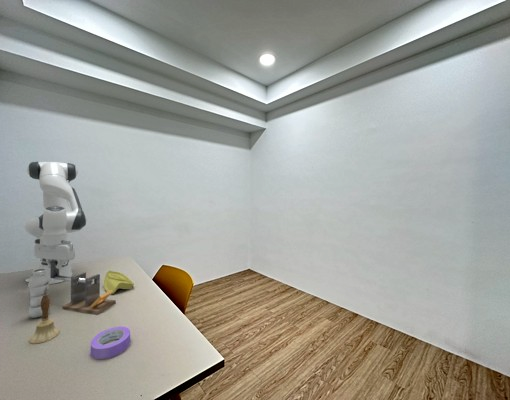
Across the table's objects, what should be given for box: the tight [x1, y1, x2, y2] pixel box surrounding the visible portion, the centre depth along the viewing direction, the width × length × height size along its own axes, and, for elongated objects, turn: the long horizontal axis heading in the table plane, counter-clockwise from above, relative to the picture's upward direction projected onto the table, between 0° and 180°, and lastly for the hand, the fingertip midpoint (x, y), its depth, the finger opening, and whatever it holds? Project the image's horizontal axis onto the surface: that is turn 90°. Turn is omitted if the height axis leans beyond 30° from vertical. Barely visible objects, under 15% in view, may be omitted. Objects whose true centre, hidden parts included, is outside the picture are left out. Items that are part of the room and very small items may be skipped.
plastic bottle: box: [27, 269, 51, 319], centre depth 92 cm, size 6×7×20 cm
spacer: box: [90, 290, 113, 308], centre depth 100 cm, size 1×7×7 cm
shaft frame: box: [61, 272, 117, 315], centre depth 101 cm, size 19×10×14 cm, turn 80°
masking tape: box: [90, 326, 131, 360], centre depth 76 cm, size 12×12×4 cm
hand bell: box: [28, 293, 61, 345], centre depth 80 cm, size 8×8×16 cm
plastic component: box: [103, 270, 135, 296], centre depth 123 cm, size 20×7×10 cm
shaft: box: [50, 260, 94, 284], centre depth 103 cm, size 23×3×9 cm, turn 80°
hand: (55, 267), depth 105 cm, fingers closed on shaft, 3 cm apart
